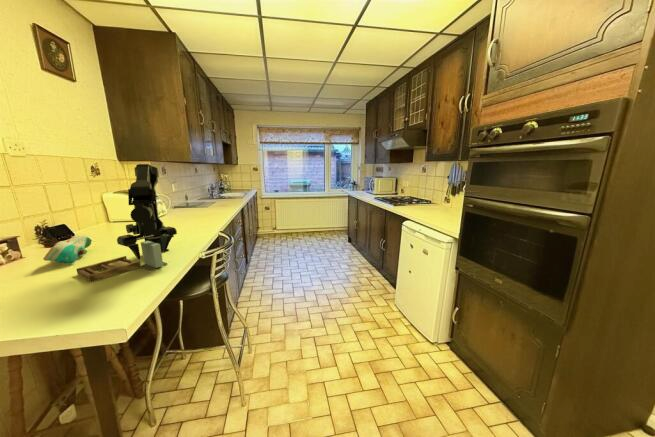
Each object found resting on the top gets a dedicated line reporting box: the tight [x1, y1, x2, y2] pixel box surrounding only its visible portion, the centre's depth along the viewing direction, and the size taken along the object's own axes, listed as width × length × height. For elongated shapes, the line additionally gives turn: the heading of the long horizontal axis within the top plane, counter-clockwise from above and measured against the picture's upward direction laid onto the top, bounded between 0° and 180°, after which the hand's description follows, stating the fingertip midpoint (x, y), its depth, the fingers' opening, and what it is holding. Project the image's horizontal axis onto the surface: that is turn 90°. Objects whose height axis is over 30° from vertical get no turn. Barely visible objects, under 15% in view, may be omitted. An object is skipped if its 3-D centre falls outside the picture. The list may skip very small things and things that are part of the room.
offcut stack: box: [108, 261, 129, 268], centre depth 98 cm, size 5×8×2 cm, turn 60°
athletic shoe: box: [43, 234, 92, 265], centre depth 110 cm, size 27×9×12 cm
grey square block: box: [140, 240, 164, 269], centre depth 99 cm, size 3×9×9 cm, turn 60°
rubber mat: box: [139, 261, 168, 271], centre depth 100 cm, size 7×7×1 cm
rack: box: [76, 255, 141, 283], centre depth 95 cm, size 15×12×2 cm
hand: (152, 256), depth 99 cm, fingers open, 9 cm apart
